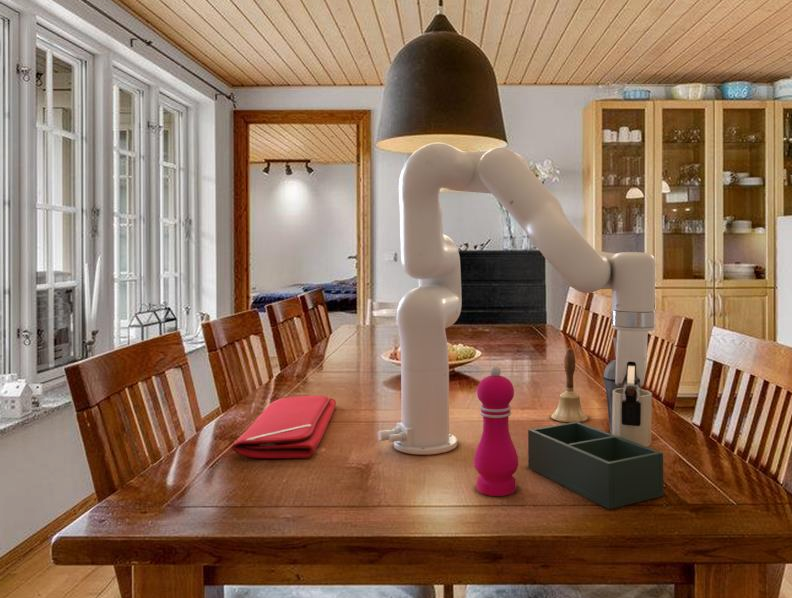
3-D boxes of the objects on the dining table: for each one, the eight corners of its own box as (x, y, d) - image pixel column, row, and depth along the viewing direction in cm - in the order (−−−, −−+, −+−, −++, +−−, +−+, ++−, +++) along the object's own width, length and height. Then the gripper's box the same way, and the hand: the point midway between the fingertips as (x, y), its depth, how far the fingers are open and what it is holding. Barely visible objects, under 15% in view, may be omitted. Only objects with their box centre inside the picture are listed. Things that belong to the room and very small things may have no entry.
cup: (630, 449, 114) (631, 397, 114) (604, 439, 120) (604, 389, 120) (659, 444, 117) (660, 394, 117) (632, 434, 123) (633, 386, 123)
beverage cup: (640, 438, 135) (639, 340, 135) (603, 436, 136) (602, 340, 136) (637, 429, 142) (636, 336, 142) (603, 427, 143) (602, 335, 144)
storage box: (609, 509, 99) (608, 463, 99) (528, 467, 117) (528, 429, 118) (663, 496, 104) (663, 452, 104) (577, 458, 123) (577, 421, 123)
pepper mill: (505, 501, 102) (504, 371, 102) (465, 492, 106) (464, 367, 106) (526, 486, 108) (525, 364, 108) (487, 478, 112) (486, 360, 112)
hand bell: (593, 416, 153) (592, 347, 153) (579, 424, 146) (579, 352, 146) (560, 412, 157) (559, 344, 157) (545, 419, 150) (544, 349, 150)
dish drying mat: (337, 406, 164) (337, 391, 164) (315, 458, 123) (315, 438, 123) (273, 408, 163) (273, 393, 163) (229, 461, 122) (229, 441, 122)
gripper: (614, 314, 128) (613, 406, 128) (608, 325, 112) (606, 430, 111) (654, 316, 126) (653, 409, 126) (654, 327, 109) (653, 434, 109)
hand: (631, 418), depth 119 cm, fingers closed on cup, 6 cm apart
